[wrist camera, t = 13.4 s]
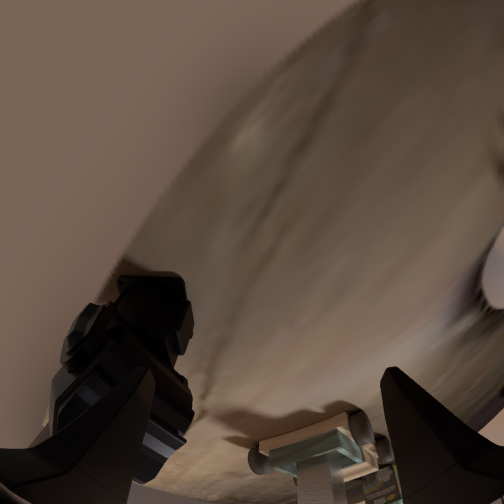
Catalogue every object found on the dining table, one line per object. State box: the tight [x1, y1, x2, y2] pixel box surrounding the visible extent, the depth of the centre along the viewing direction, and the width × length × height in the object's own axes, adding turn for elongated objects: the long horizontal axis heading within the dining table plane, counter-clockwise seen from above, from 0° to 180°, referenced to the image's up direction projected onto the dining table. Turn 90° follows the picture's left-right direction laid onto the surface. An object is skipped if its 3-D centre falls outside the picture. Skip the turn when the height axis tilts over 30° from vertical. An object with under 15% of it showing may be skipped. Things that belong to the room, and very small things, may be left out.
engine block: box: [296, 450, 347, 504], centre depth 26 cm, size 5×5×11 cm
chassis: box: [248, 411, 394, 486], centre depth 33 cm, size 20×18×5 cm
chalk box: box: [361, 464, 403, 504], centre depth 37 cm, size 9×9×15 cm
